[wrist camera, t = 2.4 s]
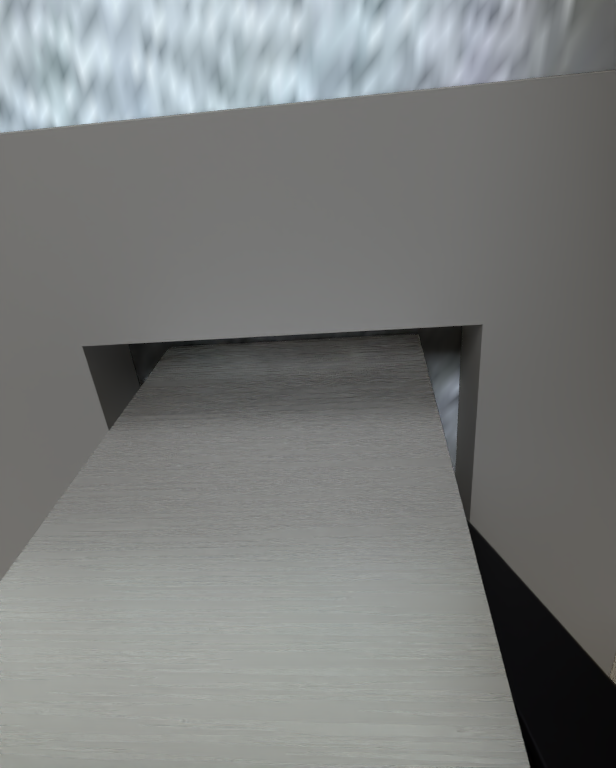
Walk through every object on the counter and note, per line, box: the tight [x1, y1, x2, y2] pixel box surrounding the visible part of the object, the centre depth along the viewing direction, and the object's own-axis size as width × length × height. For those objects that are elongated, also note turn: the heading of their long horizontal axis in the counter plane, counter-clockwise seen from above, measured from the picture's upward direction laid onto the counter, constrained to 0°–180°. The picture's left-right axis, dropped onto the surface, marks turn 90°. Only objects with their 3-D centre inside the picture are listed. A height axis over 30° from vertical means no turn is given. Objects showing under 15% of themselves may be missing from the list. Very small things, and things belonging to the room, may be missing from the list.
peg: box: [0, 334, 530, 768], centre depth 7 cm, size 4×4×8 cm
